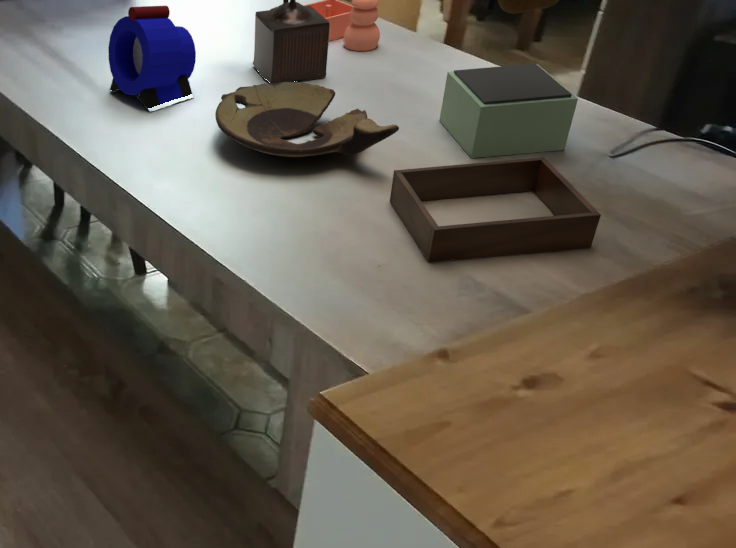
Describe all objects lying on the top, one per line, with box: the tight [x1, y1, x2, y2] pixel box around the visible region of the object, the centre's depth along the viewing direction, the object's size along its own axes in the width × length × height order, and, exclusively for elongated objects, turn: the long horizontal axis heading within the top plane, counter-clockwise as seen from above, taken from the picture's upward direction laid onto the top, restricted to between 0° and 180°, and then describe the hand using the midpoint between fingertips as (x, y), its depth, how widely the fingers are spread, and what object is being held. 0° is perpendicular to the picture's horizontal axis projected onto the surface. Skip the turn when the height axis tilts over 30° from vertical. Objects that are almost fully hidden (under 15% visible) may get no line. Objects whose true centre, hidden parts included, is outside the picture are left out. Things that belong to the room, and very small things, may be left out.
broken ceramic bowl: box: [214, 81, 400, 158], centre depth 138 cm, size 22×30×8 cm
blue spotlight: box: [107, 5, 197, 109], centre depth 155 cm, size 12×12×15 cm
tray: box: [389, 156, 602, 263], centre depth 120 cm, size 17×21×4 cm
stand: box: [438, 63, 579, 159], centre depth 138 cm, size 14×14×8 cm
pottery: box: [302, 0, 381, 52], centre depth 173 cm, size 18×10×10 cm, turn 30°
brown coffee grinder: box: [252, 0, 330, 83], centre depth 159 cm, size 16×11×18 cm
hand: (528, 3), depth 126 cm, fingers closed on potato, 11 cm apart
